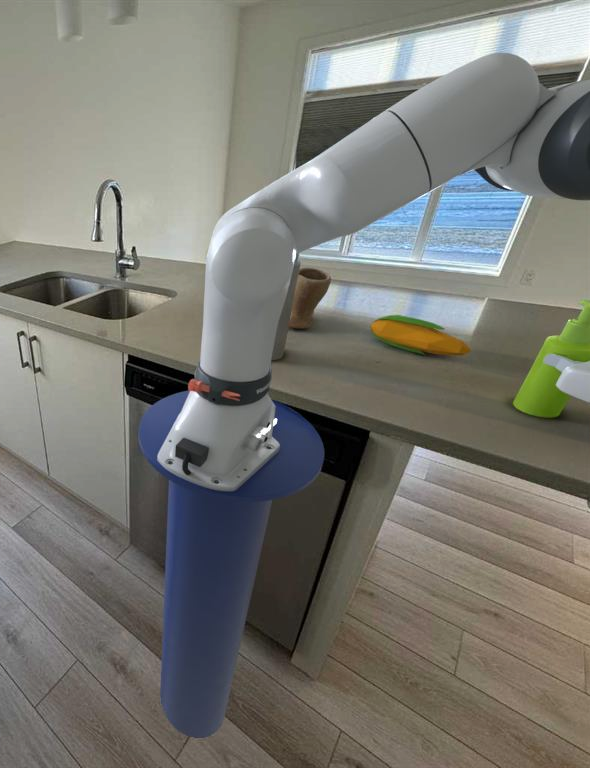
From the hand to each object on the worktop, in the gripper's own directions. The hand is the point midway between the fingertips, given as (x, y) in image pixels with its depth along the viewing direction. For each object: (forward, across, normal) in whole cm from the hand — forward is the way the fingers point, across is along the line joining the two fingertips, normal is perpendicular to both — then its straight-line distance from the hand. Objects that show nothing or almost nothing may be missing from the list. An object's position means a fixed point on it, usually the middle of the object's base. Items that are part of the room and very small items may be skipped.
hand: (562, 352), depth 68 cm
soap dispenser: (-1, 0, +11) cm, 11 cm away
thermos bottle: (+38, +26, +11) cm, 48 cm away
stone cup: (+51, +6, +11) cm, 52 cm away
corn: (+25, -4, +11) cm, 28 cm away
